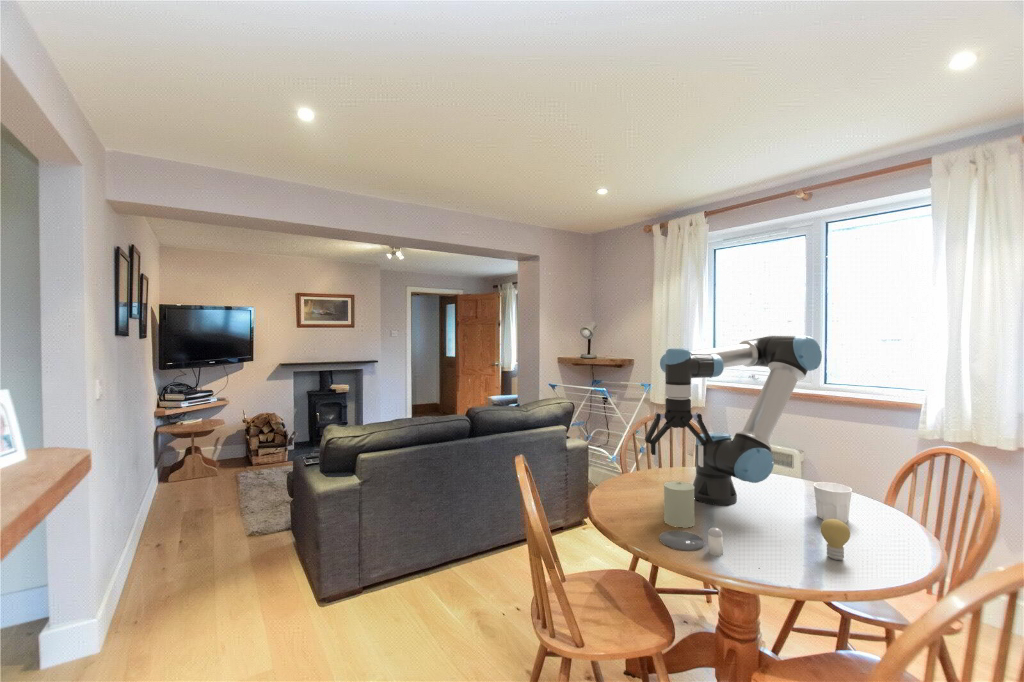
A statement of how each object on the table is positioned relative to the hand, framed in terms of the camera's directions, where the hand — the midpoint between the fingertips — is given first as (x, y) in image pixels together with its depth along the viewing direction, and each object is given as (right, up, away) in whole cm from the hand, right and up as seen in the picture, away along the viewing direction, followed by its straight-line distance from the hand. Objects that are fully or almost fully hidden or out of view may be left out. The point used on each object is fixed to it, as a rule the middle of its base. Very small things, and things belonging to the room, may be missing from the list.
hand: (678, 465), depth 148 cm
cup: (+50, -17, +2) cm, 53 cm away
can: (0, -18, 0) cm, 18 cm away
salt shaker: (+3, -18, -21) cm, 28 cm away
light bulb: (+32, -18, -25) cm, 44 cm away
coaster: (-4, -18, -13) cm, 23 cm away
